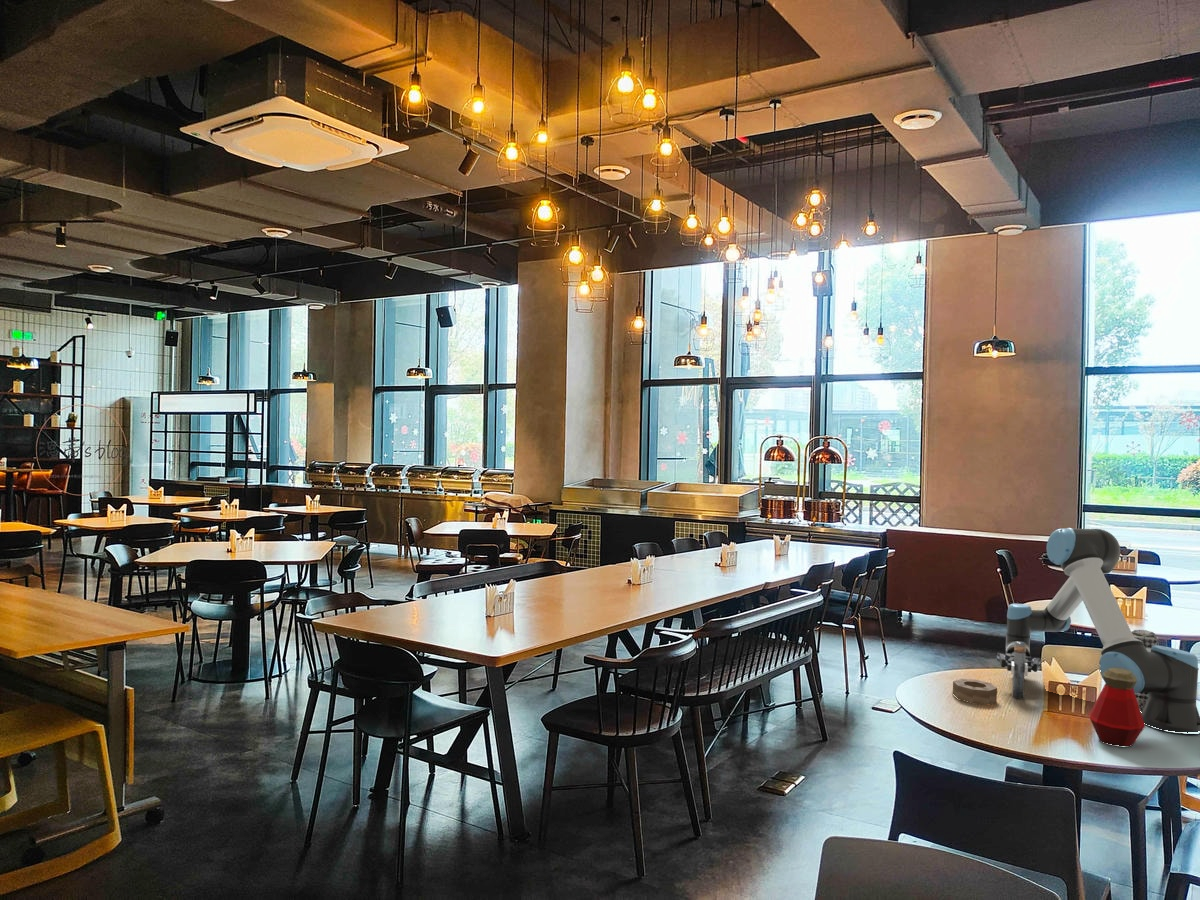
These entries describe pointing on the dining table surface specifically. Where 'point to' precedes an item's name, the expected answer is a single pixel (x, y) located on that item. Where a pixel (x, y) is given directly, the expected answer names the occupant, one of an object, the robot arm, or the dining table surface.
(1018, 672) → the copper-banded metal rod
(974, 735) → the dining table surface
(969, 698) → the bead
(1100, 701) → the bottle
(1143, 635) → the decorative candle
